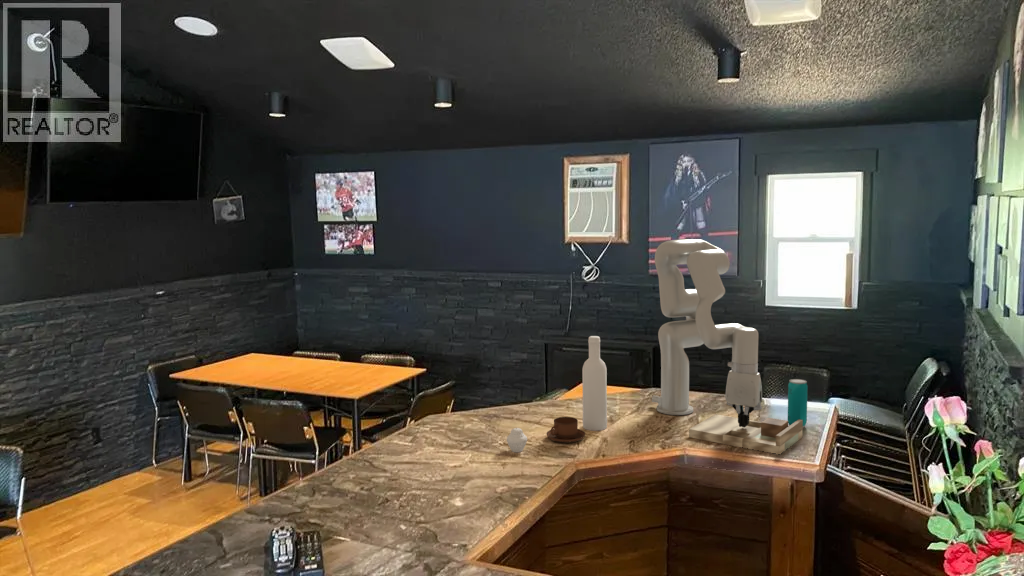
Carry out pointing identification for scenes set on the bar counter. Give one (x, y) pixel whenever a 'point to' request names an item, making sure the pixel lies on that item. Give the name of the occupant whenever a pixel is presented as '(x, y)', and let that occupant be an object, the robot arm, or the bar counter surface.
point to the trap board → (745, 434)
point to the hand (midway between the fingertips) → (743, 425)
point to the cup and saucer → (565, 430)
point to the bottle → (594, 388)
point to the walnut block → (773, 427)
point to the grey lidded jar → (516, 440)
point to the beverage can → (797, 401)
